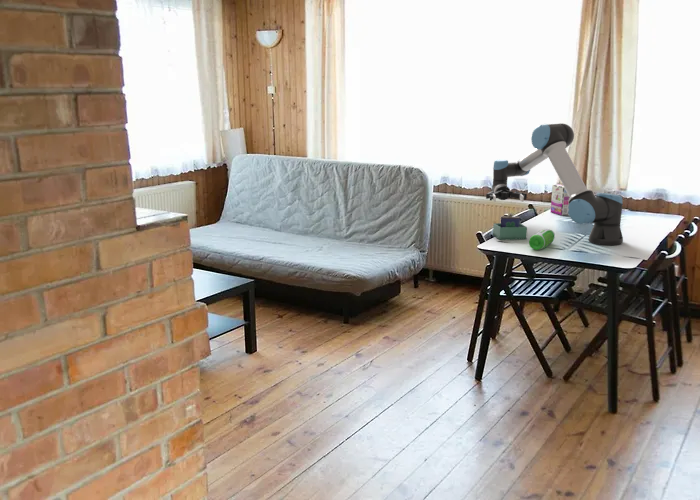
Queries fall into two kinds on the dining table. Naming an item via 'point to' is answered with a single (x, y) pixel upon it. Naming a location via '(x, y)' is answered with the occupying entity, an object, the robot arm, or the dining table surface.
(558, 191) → the candy bar box
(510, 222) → the flask
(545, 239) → the speaker
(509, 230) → the open box
